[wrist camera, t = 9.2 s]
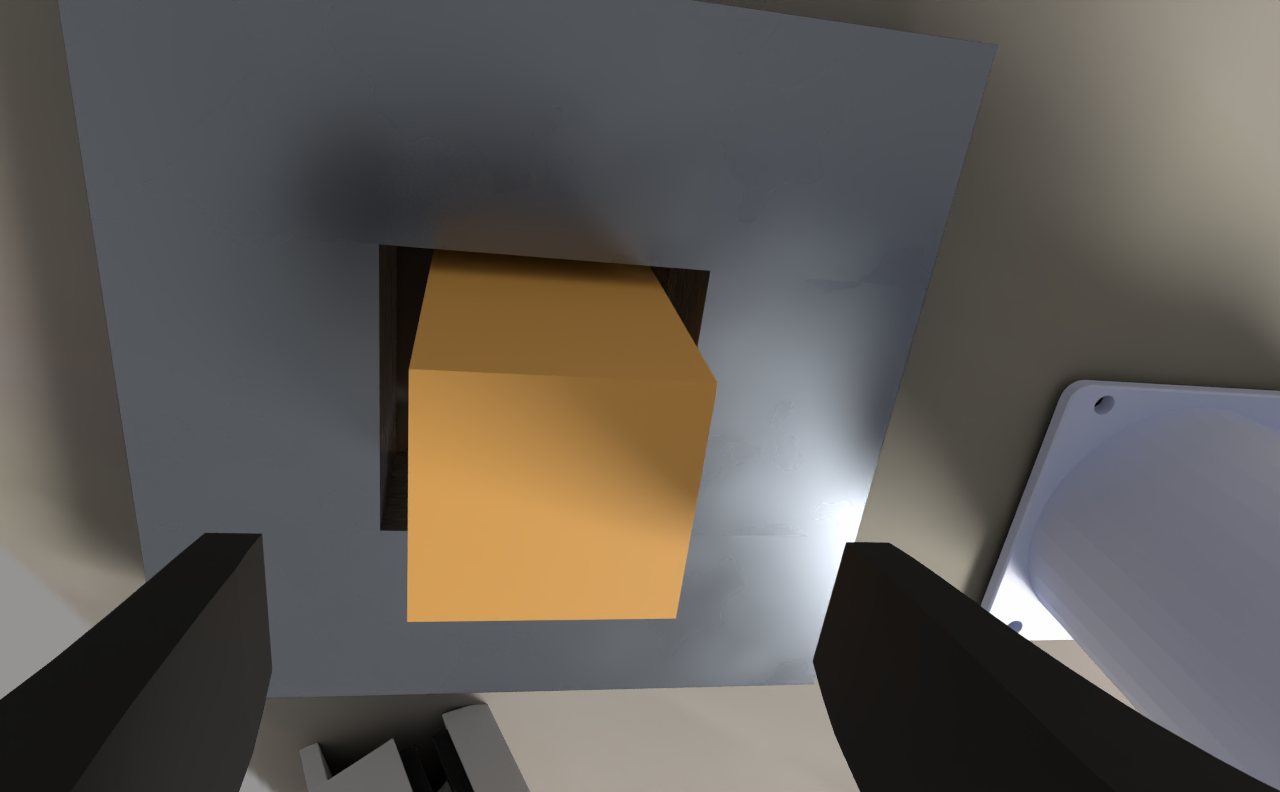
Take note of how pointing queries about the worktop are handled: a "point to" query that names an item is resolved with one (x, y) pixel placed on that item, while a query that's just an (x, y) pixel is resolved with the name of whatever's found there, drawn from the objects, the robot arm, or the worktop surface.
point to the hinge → (396, 782)
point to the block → (551, 442)
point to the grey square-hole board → (513, 225)
